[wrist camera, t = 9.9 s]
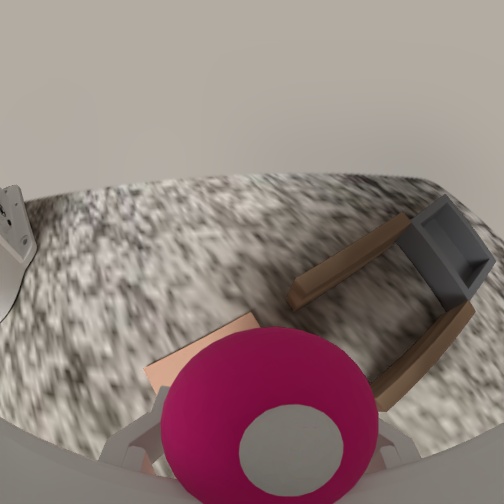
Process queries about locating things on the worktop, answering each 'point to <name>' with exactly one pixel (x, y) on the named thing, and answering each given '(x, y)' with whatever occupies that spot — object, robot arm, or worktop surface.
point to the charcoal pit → (447, 252)
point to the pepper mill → (269, 420)
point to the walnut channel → (430, 343)
